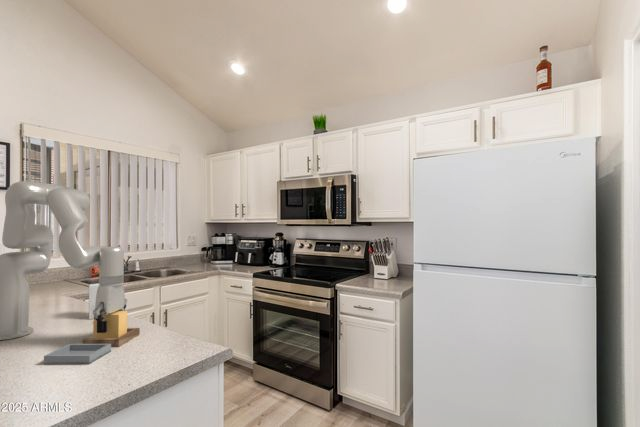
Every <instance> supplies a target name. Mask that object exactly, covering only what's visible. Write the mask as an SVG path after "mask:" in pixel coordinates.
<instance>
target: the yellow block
mask: <svg viewBox="0 0 640 427" xmlns="http://www.w3.org/2000/svg"><path fill="white" fill-rule="evenodd" d="M103 316H104V315H102V317H103ZM105 321H107V332H106V333H97V322H96V319H95V318H93V321H92V324H93V325H92V326H93V328H92V330H93V331H92V332H93V334H92V336H93V337H92V338H118V337H120V336H122V335H124V334H125V333H127V328H128V310H125V311H116V312H113V313H111V314H108V316H107V318H106V320H105Z"/></svg>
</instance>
